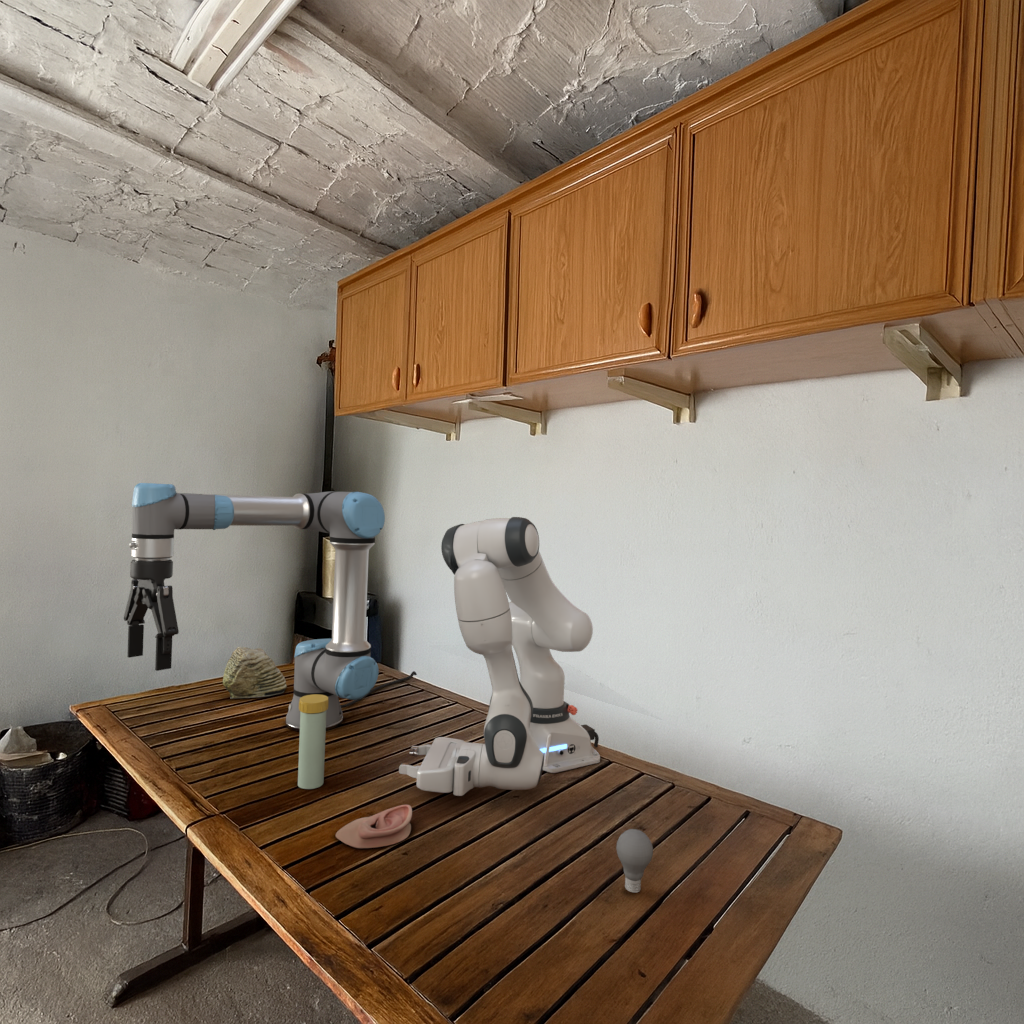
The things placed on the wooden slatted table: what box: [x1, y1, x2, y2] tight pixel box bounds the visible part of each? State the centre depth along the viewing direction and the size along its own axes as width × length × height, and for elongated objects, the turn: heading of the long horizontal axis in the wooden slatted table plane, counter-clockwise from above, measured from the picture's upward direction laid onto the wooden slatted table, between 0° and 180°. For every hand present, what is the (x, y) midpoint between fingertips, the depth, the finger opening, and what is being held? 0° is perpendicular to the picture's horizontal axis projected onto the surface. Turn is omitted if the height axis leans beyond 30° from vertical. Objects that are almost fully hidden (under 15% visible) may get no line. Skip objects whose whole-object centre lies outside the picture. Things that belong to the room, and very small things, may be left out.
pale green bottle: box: [297, 711, 327, 790], centre depth 139 cm, size 6×6×18 cm
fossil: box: [222, 646, 288, 699], centre depth 198 cm, size 9×18×15 cm, turn 132°
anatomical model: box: [335, 804, 413, 849], centre depth 120 cm, size 13×4×12 cm
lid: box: [299, 694, 329, 713], centre depth 139 cm, size 6×6×2 cm
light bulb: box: [615, 828, 654, 894], centre depth 106 cm, size 6×6×10 cm
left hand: (148, 662), depth 129 cm, fingers open, 13 cm apart
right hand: (405, 759), depth 138 cm, fingers open, 8 cm apart
